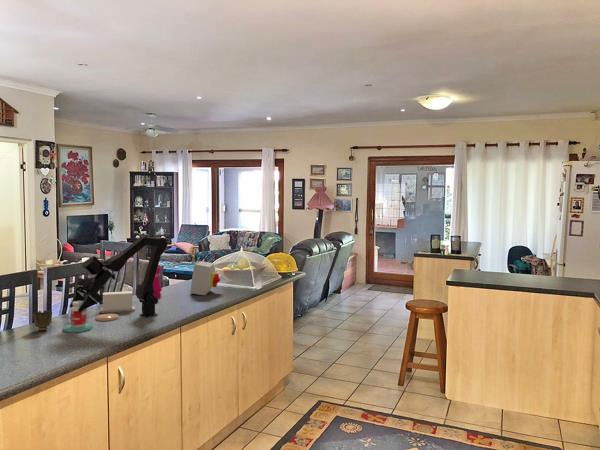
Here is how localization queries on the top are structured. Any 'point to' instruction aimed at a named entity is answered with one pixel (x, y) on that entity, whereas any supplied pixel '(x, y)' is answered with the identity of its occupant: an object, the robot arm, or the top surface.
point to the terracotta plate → (107, 317)
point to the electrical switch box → (203, 278)
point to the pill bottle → (78, 315)
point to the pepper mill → (157, 284)
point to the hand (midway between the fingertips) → (74, 309)
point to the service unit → (117, 302)
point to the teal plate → (76, 330)
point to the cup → (42, 319)
